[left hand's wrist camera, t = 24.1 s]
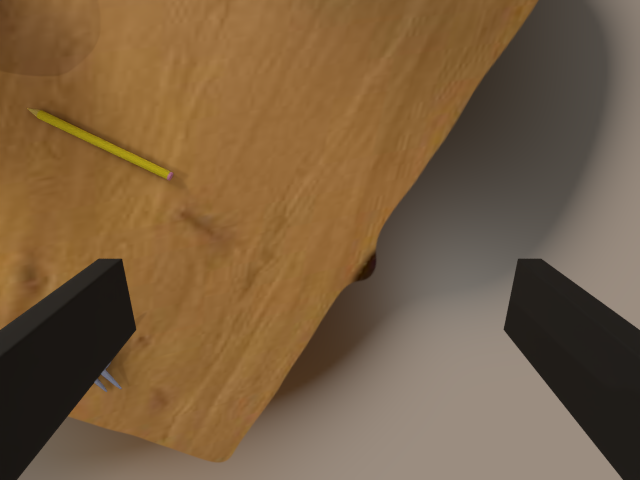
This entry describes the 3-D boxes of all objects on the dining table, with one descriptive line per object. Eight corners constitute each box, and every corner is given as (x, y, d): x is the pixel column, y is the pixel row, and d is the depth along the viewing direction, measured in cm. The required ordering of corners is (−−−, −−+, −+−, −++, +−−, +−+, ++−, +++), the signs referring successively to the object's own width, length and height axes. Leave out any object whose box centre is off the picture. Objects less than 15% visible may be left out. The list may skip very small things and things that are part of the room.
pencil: (174, 171, 44) (170, 173, 43) (171, 179, 44) (168, 181, 43) (30, 103, 41) (23, 103, 40) (28, 111, 41) (21, 112, 40)
